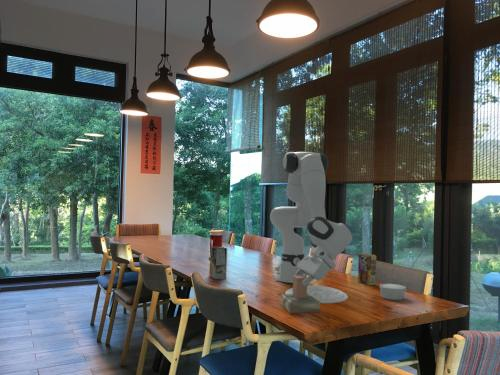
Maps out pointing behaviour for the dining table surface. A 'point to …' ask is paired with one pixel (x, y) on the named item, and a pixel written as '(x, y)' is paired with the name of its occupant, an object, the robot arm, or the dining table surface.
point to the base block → (300, 303)
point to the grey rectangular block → (299, 287)
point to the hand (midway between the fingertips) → (298, 281)
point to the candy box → (367, 269)
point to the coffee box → (218, 262)
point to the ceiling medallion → (324, 294)
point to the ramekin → (392, 291)
